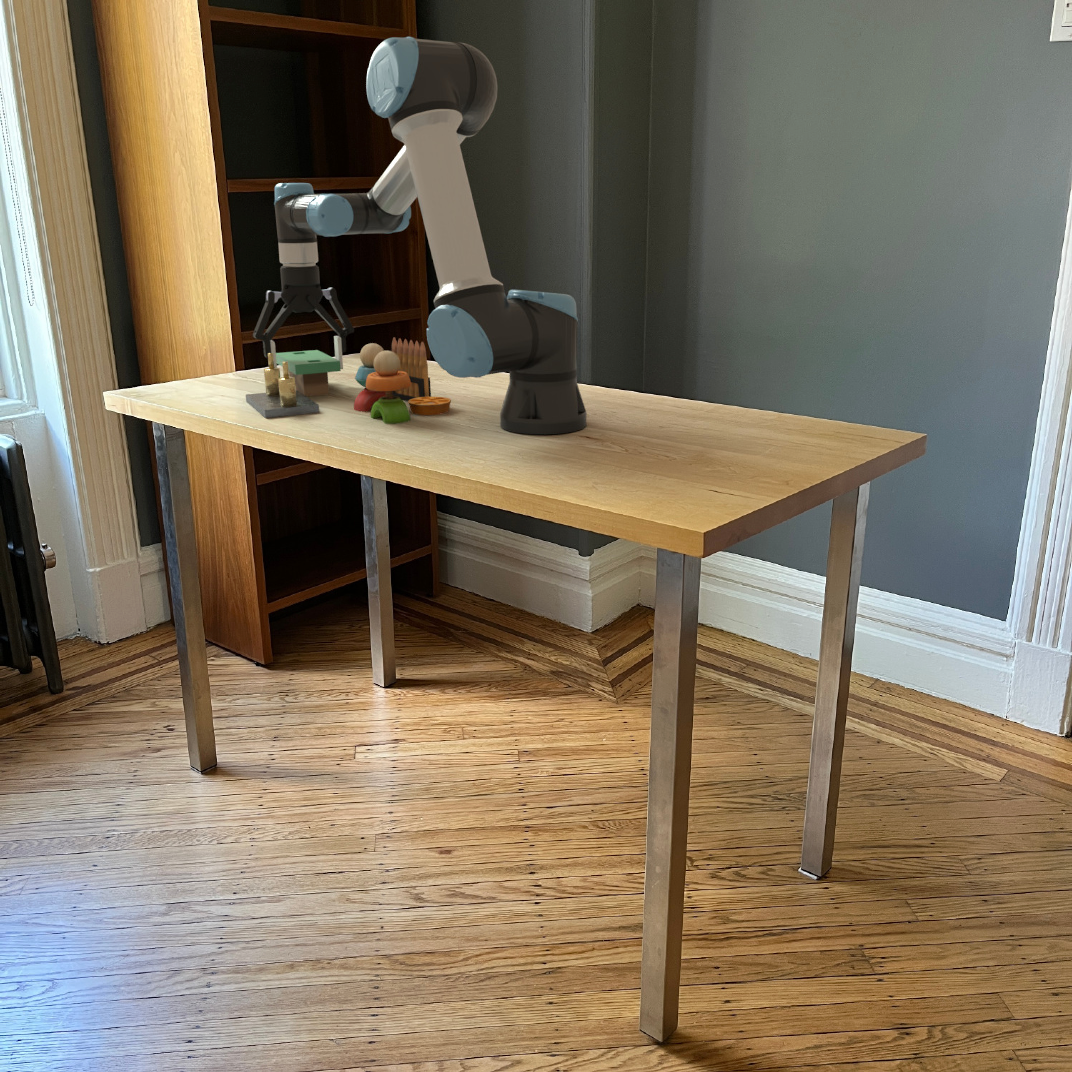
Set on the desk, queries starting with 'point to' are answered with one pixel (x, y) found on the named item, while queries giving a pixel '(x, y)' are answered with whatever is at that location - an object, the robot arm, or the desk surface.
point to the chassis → (280, 395)
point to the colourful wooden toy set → (390, 388)
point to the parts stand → (311, 383)
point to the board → (308, 362)
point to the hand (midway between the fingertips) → (307, 371)
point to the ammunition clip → (412, 369)
